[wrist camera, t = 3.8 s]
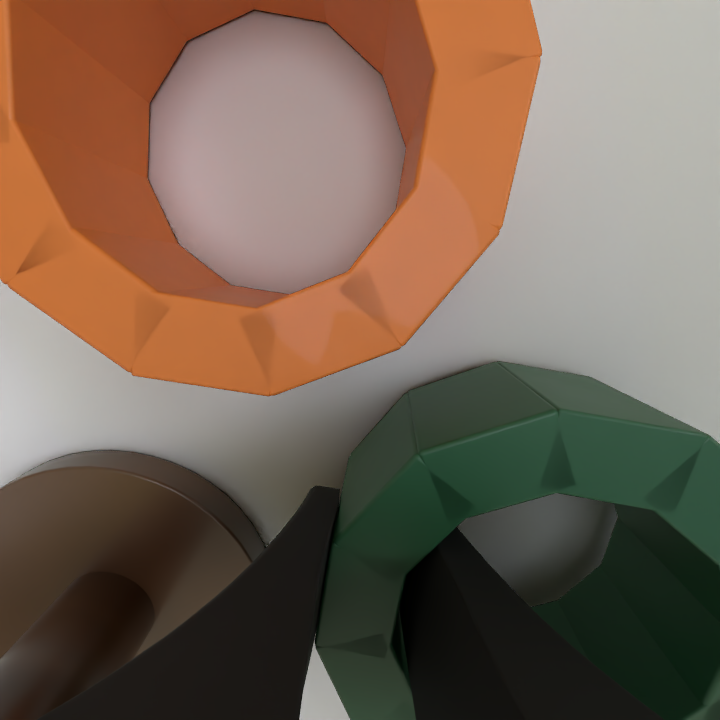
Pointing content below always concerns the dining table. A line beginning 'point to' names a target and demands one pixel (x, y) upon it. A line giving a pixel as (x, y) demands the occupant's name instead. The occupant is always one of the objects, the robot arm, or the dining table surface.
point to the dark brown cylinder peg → (105, 568)
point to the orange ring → (151, 229)
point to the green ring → (517, 485)
